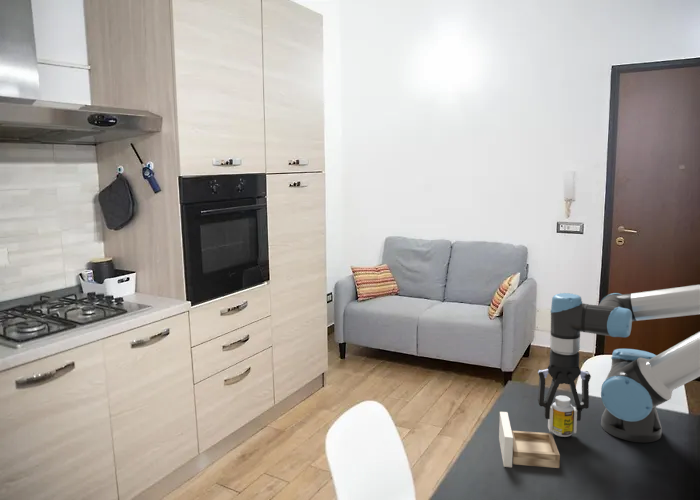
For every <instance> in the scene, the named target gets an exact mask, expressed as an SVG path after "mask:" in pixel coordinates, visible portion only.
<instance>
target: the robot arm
mask: <svg viewBox="0 0 700 500" xmlns="http://www.w3.org/2000/svg"><path fill="white" fill-rule="evenodd" d="M551 298H552V299H551V307H550V339H549V341H550V343H549V348H550V350H549V365H548V366H547V368H546V369H540V368H539V369H537V374H538V377H539V379H538V393H537V403H538V405H539V407H543V408H544V411H543V413H544V414H543V415H544V418H545V420H547V428H548V431H549V433H553V432H552V429H553V408H552V404H553V403H554V399H555V397H556V393H557V390H558V388H559V386H560V385H563V384H565V385H569V389H570V392H571V396H572V399H573V400H572V401H573V402H574V405H575V406H573V432H572V434H577V425H578V422H580V421H581V418H582V412H583V410H584V409H589V407H590V404H589V402H590V400H589V399H590V398H589V392H590V391H589V387H590V385H589V383H590V380H591V377H592V376H591V375H592V374H590V372H589V371H587V370H585V371H584V370H581V368H580V347H581V344H580V343H581V333H588V334H592V335H593V334H594V335H595V334H596V335H601V336H608V337H612V338H628V337H629V336H630V335H631V331H632V324H633V322H638V321H646V320H656V319H657V320H658V319H666V318H677V317H686V316H696V315H700V284H692V285H686V286H680V287H677V286H676V287H671V288H663V289H655V290H648V291H647V290H646V291H642V292H641V291H639V292H633V293H625V294H622V293H619V292H613V293H609V294H607V295H605V296H604V297H603V298H602V299H601V300H600V302H599V304H598V305H597V304H589V303H584V302H583V301H582V296H580V295H579V294H576V293H569V292H567V293H566V292H563V293H561V292H560V293H556V294H555V295H553V296H552V297H551ZM610 358H611V367H610V371H608V374H607V376H606V378H605V379H604V381H603V382H602V385H601V390H600V391H601V392H600V396H601V397H600V399H601V401H602V404H603V406H604V407H605V409H604V411H603V413H602V415H601V421H600V425H601V427H602V429H603V431H605V432H606V433H608V434H610V435H611V436H613V437H615V438H618V439H621V440H623V441H628V442H633V443H642V444H645V443H646V444H647V443H654V442H657V441H658V440H660V439H661V438H662V430H663V428H662V424H661V420H660V418H659V414H658V410H657V407H658V406H660V405H662V404H664V403H666V402H669V400H671V399H672V394H673V391H674V390H676V389H678V388H680V387H682V386H684V385H686V384H687V383H690V382H691V381H693V380H696V379H699V378H700V331H698V332H696V333H695V334H693V335H691V336H689V337H687V338H686V339H684V340H682V341H680V342H678V343H676V344H675V345H673V346H671V347H669V348H668V349H666V350H664V351H662V352H660V353H659V354H654V353H652V352H649V351H646V350H640V349H634V348H616V349H613V351H612V355H611V357H610ZM548 375H549V376H550V377H551V378H552V379H551V384H550V386H549V389H548V392H547V394H546V398H545V392H546V379H547V377H548ZM579 377H580V379H581V401H580V398H579V394H578V390H577V387H576V382H575V381H576V380H577V378H579Z"/></svg>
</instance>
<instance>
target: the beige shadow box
mask: <svg viewBox="0 0 700 500" xmlns="http://www.w3.org/2000/svg"><path fill="white" fill-rule="evenodd" d="M511 431H512V435H513V455H512V465H518V466H529V467H542V468H552V469H553V468H554V469H555V468H556V469H560V463H561V462H560V461H561V459H560V458H561V454H560V452H559V449H558V446H557V444H556V441H555V439H554V435H553V432H549V433H548V432H538V431H537V432H536V431H523V430H521V431H520V430H512V429H511Z"/></svg>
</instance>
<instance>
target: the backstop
mask: <svg viewBox="0 0 700 500" xmlns="http://www.w3.org/2000/svg"><path fill="white" fill-rule="evenodd" d="M511 430H512V427H511V421H510V417H509V413H508V411H499V429H498V441H499V446H500V452H501V458H502V464H503V467H504V468H505V467H506V468H513V460H512V455H513V435H512V431H513V430H512V431H511Z"/></svg>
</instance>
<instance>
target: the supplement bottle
mask: <svg viewBox="0 0 700 500" xmlns="http://www.w3.org/2000/svg"><path fill="white" fill-rule="evenodd" d="M554 399H555V400H554V401H555V402H554V401H553V402H552V404H551V406H552V408H553V429H552V432H551V433H552V434H554V435H555V436H557V437H562V438H563V437H564V438H566V437H567V438H568V437H571V435H573V407H574V406H573V404H572V400H571V398H570V397H569V396H567V395H555V397H554Z"/></svg>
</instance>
